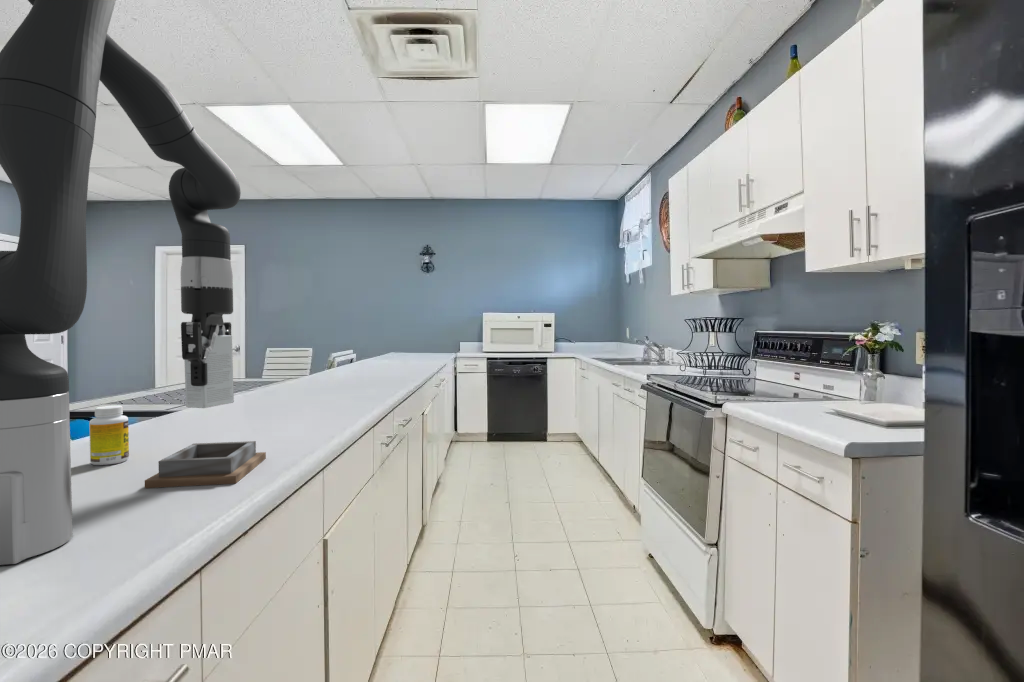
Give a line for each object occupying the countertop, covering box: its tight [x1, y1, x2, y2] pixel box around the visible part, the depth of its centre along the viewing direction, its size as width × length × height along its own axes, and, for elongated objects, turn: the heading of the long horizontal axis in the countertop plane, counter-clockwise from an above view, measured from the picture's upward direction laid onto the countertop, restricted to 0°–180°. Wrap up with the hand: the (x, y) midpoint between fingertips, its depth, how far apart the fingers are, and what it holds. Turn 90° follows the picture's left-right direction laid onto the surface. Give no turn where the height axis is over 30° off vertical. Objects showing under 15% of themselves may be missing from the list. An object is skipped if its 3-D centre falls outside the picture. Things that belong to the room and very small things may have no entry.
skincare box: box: [183, 334, 235, 409], centre depth 84 cm, size 6×4×12 cm
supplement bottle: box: [88, 404, 130, 466], centre depth 90 cm, size 6×6×10 cm
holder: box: [144, 440, 267, 489], centre depth 84 cm, size 15×13×4 cm
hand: (209, 382), depth 84 cm, fingers closed on skincare box, 7 cm apart
